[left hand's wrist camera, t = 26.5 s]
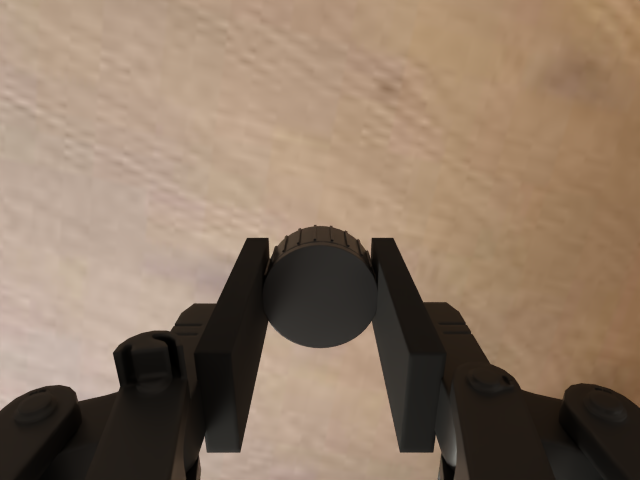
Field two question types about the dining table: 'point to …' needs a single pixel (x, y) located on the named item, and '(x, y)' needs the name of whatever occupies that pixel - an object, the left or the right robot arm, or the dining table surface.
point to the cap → (320, 287)
